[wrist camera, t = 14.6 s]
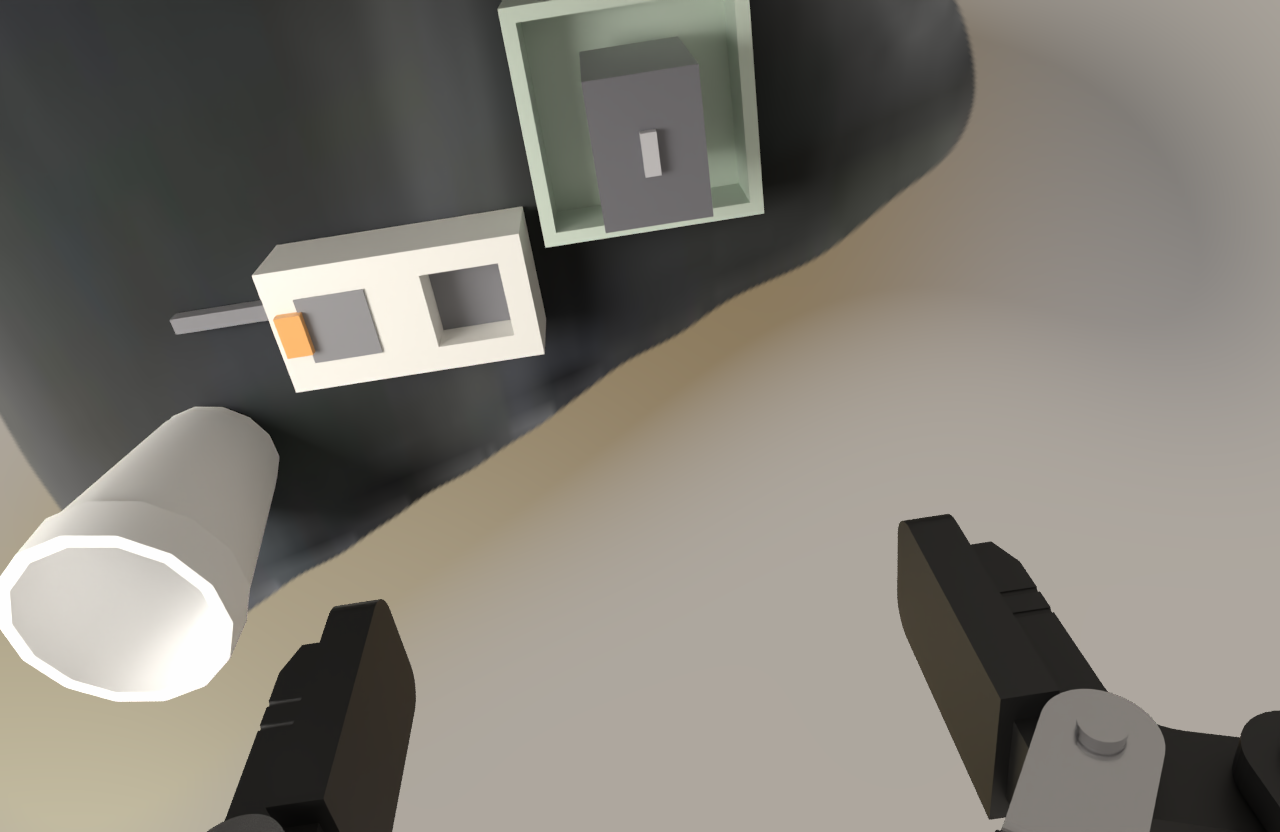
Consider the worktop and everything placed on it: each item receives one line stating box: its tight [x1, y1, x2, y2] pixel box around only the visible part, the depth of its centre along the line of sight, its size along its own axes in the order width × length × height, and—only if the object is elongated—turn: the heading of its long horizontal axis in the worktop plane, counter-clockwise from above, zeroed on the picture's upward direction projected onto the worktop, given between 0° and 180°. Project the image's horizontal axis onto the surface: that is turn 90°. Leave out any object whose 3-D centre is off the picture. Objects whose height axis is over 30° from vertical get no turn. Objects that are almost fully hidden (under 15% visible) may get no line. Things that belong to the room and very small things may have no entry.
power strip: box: [170, 206, 546, 393], centre depth 43 cm, size 6×18×4 cm, turn 98°
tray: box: [498, 0, 764, 248], centre depth 40 cm, size 10×10×4 cm
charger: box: [579, 36, 713, 233], centre depth 37 cm, size 6×4×9 cm
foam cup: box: [0, 407, 279, 702], centre depth 44 cm, size 10×9×13 cm
